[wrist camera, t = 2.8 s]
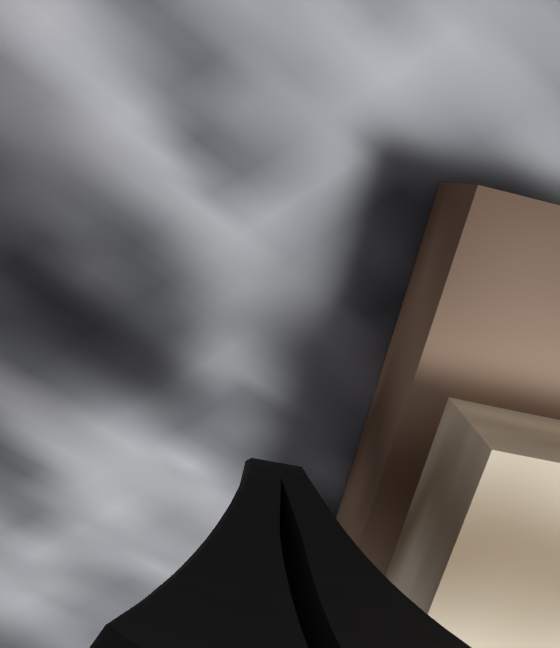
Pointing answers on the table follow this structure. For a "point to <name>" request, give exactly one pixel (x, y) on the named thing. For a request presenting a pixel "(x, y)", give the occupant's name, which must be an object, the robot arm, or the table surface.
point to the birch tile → (486, 529)
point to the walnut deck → (458, 346)
